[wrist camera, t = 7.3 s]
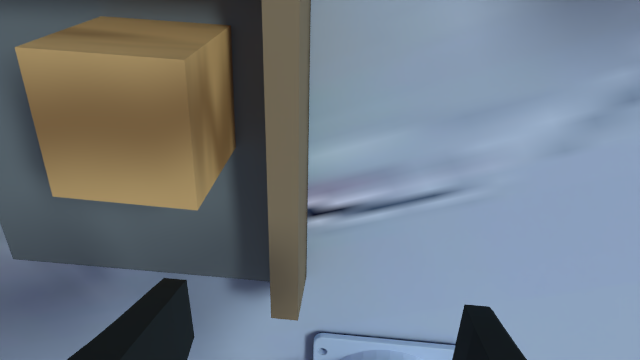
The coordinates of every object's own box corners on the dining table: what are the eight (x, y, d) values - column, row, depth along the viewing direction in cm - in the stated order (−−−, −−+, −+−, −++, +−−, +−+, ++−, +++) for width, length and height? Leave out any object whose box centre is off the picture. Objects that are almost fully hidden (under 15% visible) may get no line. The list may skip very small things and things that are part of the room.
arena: (306, 276, 24) (297, 320, 21) (20, 251, 25) (-21, 290, 23) (311, -60, 17) (299, -56, 14) (-89, -73, 18) (-169, -72, 15)
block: (235, 147, 20) (197, 210, 16) (120, 137, 21) (52, 196, 16) (230, 25, 18) (184, 59, 14) (100, 16, 18) (14, 46, 14)
